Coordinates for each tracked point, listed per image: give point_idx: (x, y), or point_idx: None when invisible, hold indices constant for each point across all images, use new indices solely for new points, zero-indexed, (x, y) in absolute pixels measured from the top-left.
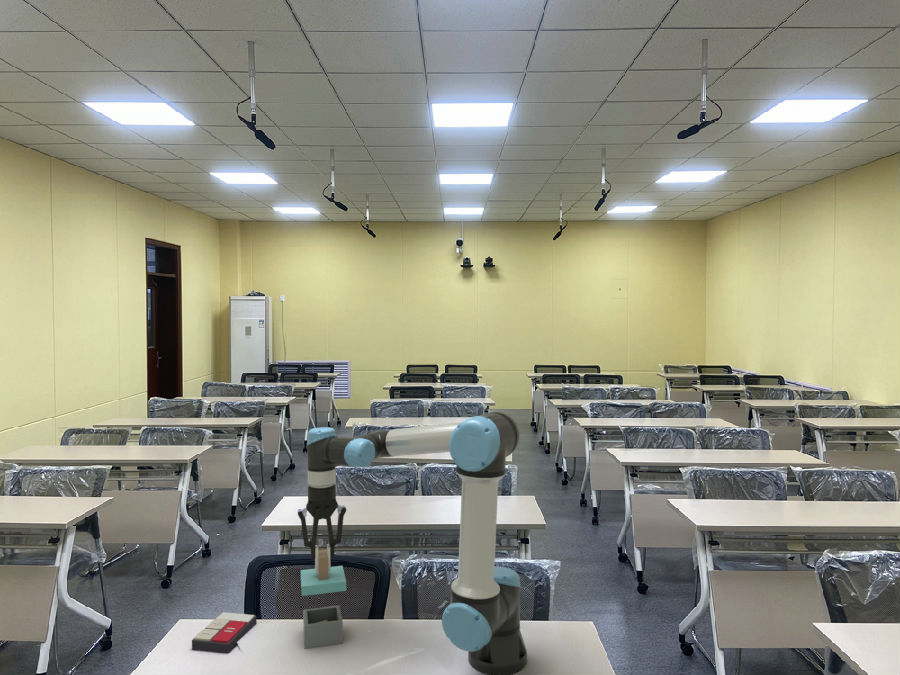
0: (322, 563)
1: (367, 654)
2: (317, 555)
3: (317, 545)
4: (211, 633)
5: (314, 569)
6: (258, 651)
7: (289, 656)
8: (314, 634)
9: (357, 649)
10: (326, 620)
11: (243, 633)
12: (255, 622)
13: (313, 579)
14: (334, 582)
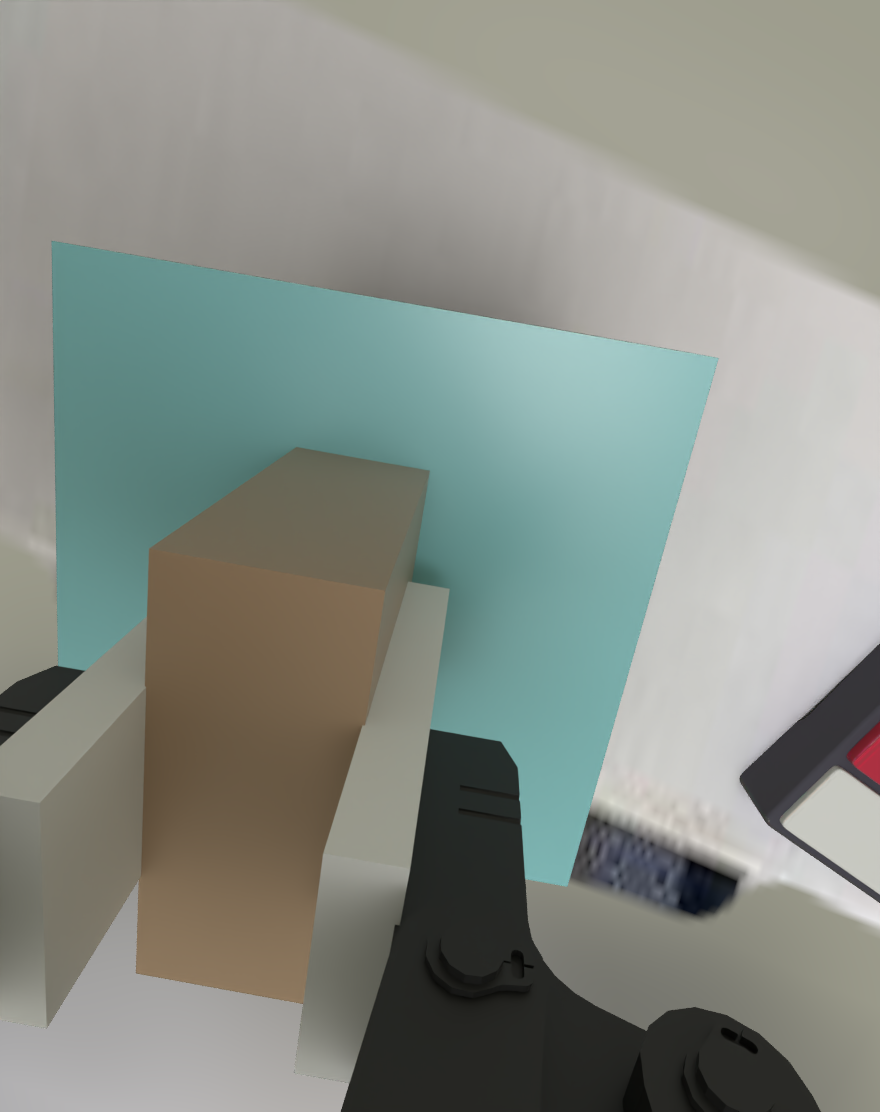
0: (321, 527)
1: (195, 148)
2: (380, 735)
3: (301, 1070)
4: None
5: None
6: (813, 499)
7: None
8: None
9: (245, 246)
10: None
11: (868, 690)
12: (762, 787)
13: (492, 535)
14: (227, 284)
